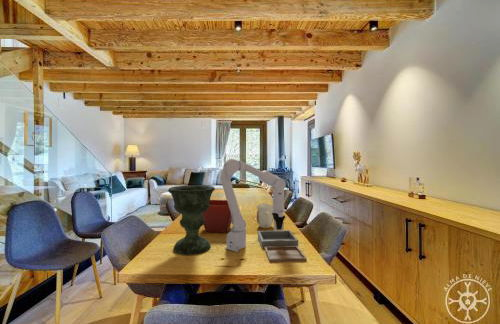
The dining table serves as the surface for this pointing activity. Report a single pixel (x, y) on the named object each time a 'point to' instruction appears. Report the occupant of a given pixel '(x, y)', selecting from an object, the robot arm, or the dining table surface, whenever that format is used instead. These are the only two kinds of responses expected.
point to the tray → (284, 254)
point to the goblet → (191, 216)
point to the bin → (277, 238)
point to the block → (276, 227)
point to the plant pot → (217, 216)
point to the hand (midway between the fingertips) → (278, 228)
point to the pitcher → (265, 215)
